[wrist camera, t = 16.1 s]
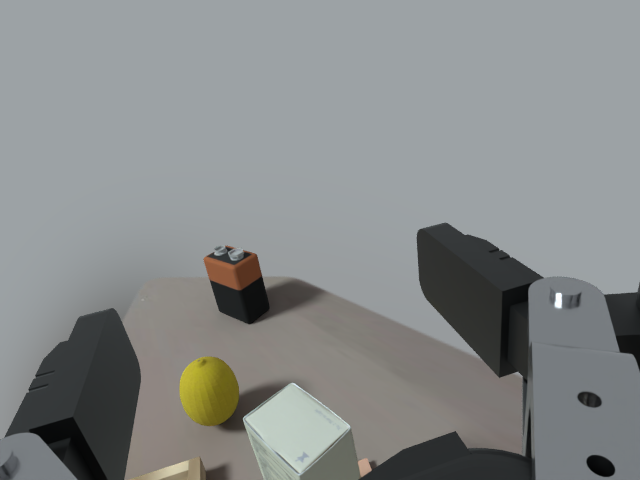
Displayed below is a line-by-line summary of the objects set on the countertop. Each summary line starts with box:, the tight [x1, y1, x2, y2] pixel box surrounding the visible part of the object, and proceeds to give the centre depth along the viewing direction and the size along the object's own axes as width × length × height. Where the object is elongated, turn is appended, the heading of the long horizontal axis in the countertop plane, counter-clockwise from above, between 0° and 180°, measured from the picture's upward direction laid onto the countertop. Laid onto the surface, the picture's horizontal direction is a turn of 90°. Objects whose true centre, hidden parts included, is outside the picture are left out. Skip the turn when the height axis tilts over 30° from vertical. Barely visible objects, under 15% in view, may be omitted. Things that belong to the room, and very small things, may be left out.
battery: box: [204, 246, 270, 324], centre depth 60 cm, size 4×7×10 cm, turn 51°
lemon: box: [180, 357, 239, 426], centre depth 43 cm, size 6×6×8 cm
